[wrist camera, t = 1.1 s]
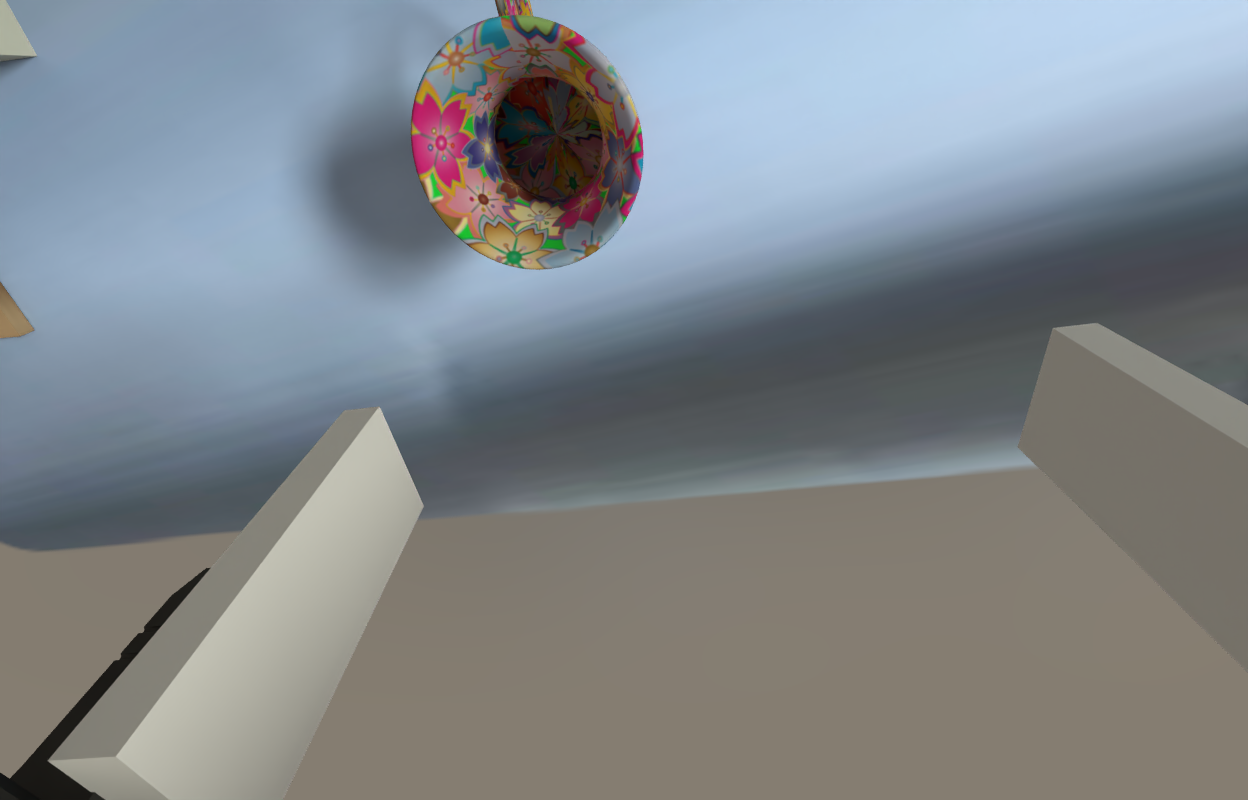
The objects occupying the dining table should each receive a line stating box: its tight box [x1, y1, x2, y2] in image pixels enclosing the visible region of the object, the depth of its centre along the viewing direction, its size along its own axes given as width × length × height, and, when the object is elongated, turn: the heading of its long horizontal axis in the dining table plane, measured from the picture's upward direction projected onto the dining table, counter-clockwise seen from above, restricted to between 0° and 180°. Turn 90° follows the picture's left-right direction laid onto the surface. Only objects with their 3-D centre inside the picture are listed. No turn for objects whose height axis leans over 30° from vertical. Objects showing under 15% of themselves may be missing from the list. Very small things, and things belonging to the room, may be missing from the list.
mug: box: [411, 0, 643, 270], centre depth 25 cm, size 12×9×11 cm
